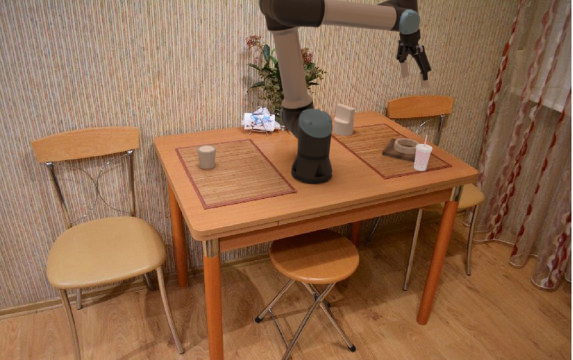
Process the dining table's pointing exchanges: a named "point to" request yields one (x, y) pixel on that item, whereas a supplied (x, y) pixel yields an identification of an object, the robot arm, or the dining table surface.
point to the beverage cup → (422, 156)
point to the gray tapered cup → (206, 156)
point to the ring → (405, 142)
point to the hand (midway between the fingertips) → (414, 82)
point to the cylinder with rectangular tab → (344, 120)
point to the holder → (393, 153)
